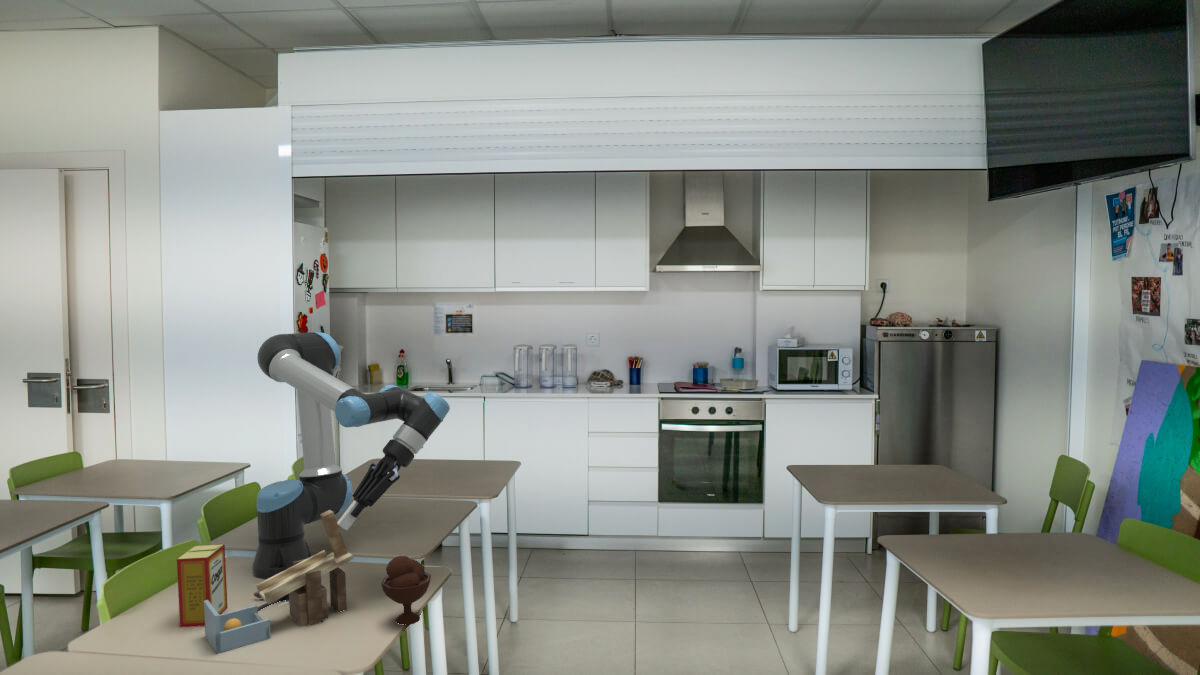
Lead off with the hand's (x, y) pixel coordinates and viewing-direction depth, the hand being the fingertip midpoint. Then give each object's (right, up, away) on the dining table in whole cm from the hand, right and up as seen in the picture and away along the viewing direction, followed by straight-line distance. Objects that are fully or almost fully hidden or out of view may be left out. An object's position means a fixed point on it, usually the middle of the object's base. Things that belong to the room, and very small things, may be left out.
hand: (341, 527), depth 172 cm
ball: (-18, -18, -15) cm, 30 cm away
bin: (-18, -20, -14) cm, 30 cm away
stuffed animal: (-18, -20, +6) cm, 28 cm away
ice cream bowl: (+18, -20, -7) cm, 27 cm away
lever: (-6, -10, -5) cm, 13 cm away
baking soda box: (-31, -20, -3) cm, 37 cm away
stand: (-4, -20, -3) cm, 20 cm away
